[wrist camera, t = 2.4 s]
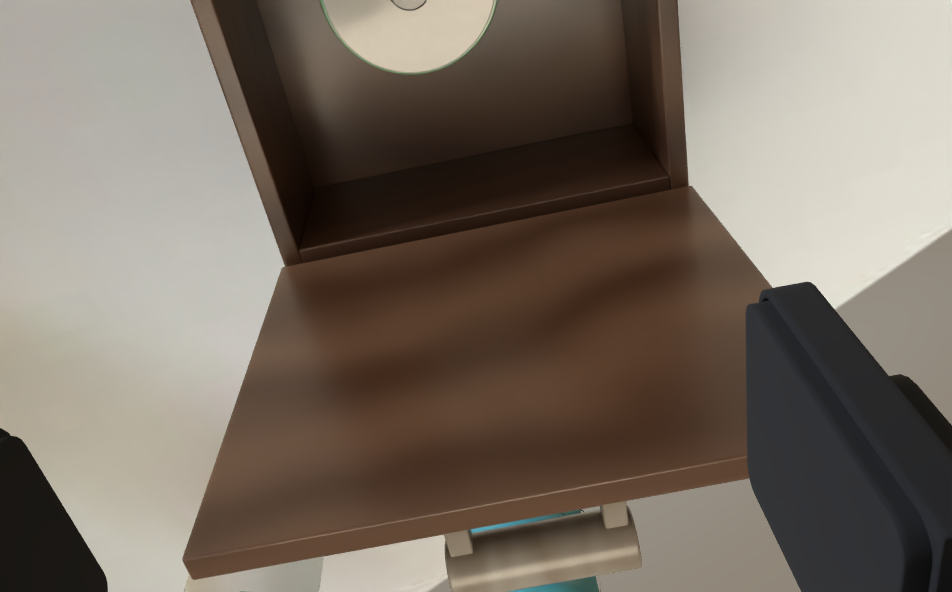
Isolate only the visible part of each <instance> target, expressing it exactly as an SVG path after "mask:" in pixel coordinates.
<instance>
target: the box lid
mask: <svg viewBox="0 0 952 592" xmlns="http://www.w3.org/2000/svg"><path fill="white" fill-rule="evenodd" d="M770 288H772V286H771V285H770V284H769V283H768V281H767V280H766V279H765V278H764V276H763V275H762V274H761V273H760V271H759V270H758V269H757V268H756V266H755V265H754V264H753V262H752V261H751V260H750V259H749V257H748V256H747V255H746V254H745V252H744V251H743V250H742V249H741V247H740V246H739V245H738V244H737V242H736V241H735V240H734V239H733V237H732V236H731V235H730V234H729V232H728V231H727V230H726V228H725V227H724V226H723V225H722V223H721V222H720V221H719V220H718V218H717V217H716V216H715V215H714V213H713V212H712V211H711V210H710V208H709V207H708V206H707V205H706V203H705V202H704V201H703V200H702V198H701V197H700V196H699V194H698V193H697V192H696V191H695V189H694V188H693V187H692V186H687V187H682V188H677V189H672V190H667V191H662V192H657V193H652V194H647V195H642V196H637V197H632V198H627V199H622V200H617V201H612V202H607V203H602V204H597V205H592V206H587V207H582V208H577V209H572V210H567V211H562V212H557V213H552V214H547V215H542V216H537V217H532V218H527V219H522V220H517V221H512V222H507V223H502V224H497V225H492V226H487V227H482V228H477V229H472V230H467V231H462V232H457V233H452V234H447V235H442V236H437V237H432V238H427V239H422V240H417V241H412V242H407V243H402V244H397V245H392V246H387V247H382V248H377V249H372V250H367V251H362V252H357V253H352V254H347V255H342V256H337V257H332V258H327V259H322V260H317V261H312V262H307V263H302V264H297V265H292V266H287V267H283V268H282V269H281V272H280V275H279V278H278V281H277V284H276V287H275V290H274V293H273V296H272V299H271V302H270V304H269V307H268V310H267V313H266V316H265V319H264V322H263V325H262V328H261V331H260V334H259V337H258V339H257V342H256V345H255V348H254V351H253V354H252V357H251V360H250V363H249V366H248V369H247V372H246V375H245V377H244V380H243V383H242V386H241V389H240V392H239V395H238V398H237V401H236V404H235V407H234V410H233V412H232V415H231V418H230V421H229V424H228V427H227V430H226V433H225V436H224V439H223V442H222V445H221V448H220V450H219V453H218V456H217V459H216V462H215V465H214V468H213V471H212V474H211V477H210V480H209V483H208V485H207V488H206V491H205V494H204V497H203V500H202V503H201V506H200V509H199V512H198V515H197V518H196V520H195V523H194V526H193V529H192V532H191V535H190V538H189V541H188V544H187V547H186V550H185V553H184V556H183V562H184V564H185V566H186V568H187V570H188V572H189V574H190V576H191V578H192V579H193V580H198V579H203V578H209V577H214V576H220V575H225V574H230V573H236V572H241V571H247V570H252V569H258V568H263V567H269V566H274V565H280V564H285V563H290V562H296V561H301V560H307V559H312V558H318V557H323V556H329V555H334V554H339V553H345V552H350V551H356V550H361V549H367V548H372V547H378V546H383V545H389V544H394V543H399V542H405V541H410V540H416V539H421V538H427V537H432V536H438V535H443V534H444V537H445V560H446V568H447V574H448V580H449V584H450V588H451V592H509V591H515V590H520V589H526V588H531V587H537V586H543V585H548V584H554V583H559V582H565V581H570V580H576V579H581V578H587V577H593V576H598V575H603V574H609V573H615V572H620V571H625V570H632V569H637V568H640V567H641V565H642V559H641V552H640V546H639V542H638V537H637V532H636V528H635V524H634V521H633V517H632V514H631V511H630V509H629V507H628V506H627V505H626V501H628V500H633V499H639V498H645V497H650V496H655V495H661V494H666V493H672V492H677V491H682V490H688V489H694V488H699V487H705V486H710V485H716V484H721V483H726V482H732V481H737V480H743V479H748V478H749V473H748V465H747V398H746V317H745V316H746V308H747V305H749V304H753V303H758V302H759V297H760V294H761V292H762V291H763V290H764V289H770ZM596 506H600V510H595V511H589V512H584V513H578V514H573V515H567V516H562V517H557V518H551V519H546V520H540V521H535V522H529V523H524V524H518V525H513V526H507V527H502V528H497V529H491V530H486V531H480V532H475V533H472V532H471V529H476V528H481V527H487V526H492V525H498V524H503V523H508V522H514V521H519V520H525V519H530V518H536V517H541V516H547V515H552V514H557V513H563V512H568V511H574V510H579V509H585V508H589V507H596Z"/></svg>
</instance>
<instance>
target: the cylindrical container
mask: <svg viewBox="0 0 952 592" xmlns="http://www.w3.org/2000/svg"><path fill="white" fill-rule="evenodd" d="M322 564H323V557H318V558H312V559H307V560H301V561H296V562H290V563H285V564H280V565H274V566H269V567H263V568H258V569H252V570H247V571H241V572H236V573H230V574H225V575H220V576H214V577H209V578H203V579H198V580H193V579H192V578H191V576H190V574H189V576H188V579H187V583H186V586H185V589H184V592H319V587H320V580H321V572H322Z"/></svg>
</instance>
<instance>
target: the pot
mask: <svg viewBox="0 0 952 592" xmlns="http://www.w3.org/2000/svg"><path fill="white" fill-rule="evenodd" d="M497 3H498V0H320V4H321V7H322V10H323V13H324V15H325V17H326V19H327V21H328V23H329V26H330V27H331V29H332V30H333V32H334V33H335V35H336V36H337V38H338V39H339V40H340V41H341V42H342V43H343V45H344V46H345V47H346V48H347V49H348V50H350V51H351V52H352V53H353V54H354V55H355V56H357V57H358V58H360V59H361V60H362V61H364V62H366V63H368V64H370V65H371V66H373V67H376V68H378V69H381V70H383V71H387V72H391V73H395V74H403V75H419V74H426V73H431V72H435V71H438V70H441V69H443V68H446V67H448V66H450V65H452V64H454V63H455V62H457V61H459V60H460V59H462V58H463V57H464V56H465V55H467V54H468V53H469V52H470V51H471V50H472V49H473V48H474V47H475V46H476V45H477V44H478V42H479V41H480V40H481V39H482V37H483V36H484V34H485V33H486V31H487V29H488V27H489V26H490V23H491V21H492V19H493V16H494V14H495V10H496V7H497Z"/></svg>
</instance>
